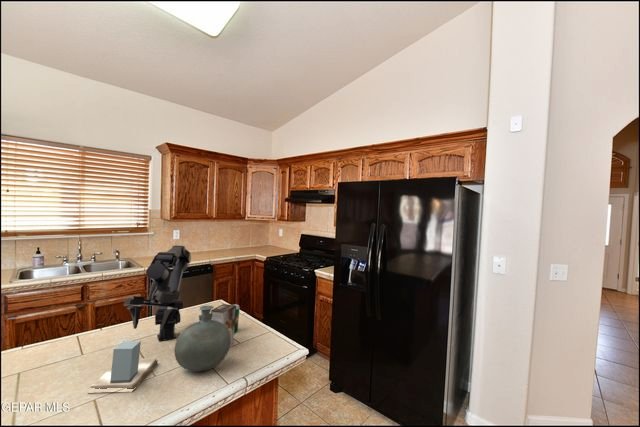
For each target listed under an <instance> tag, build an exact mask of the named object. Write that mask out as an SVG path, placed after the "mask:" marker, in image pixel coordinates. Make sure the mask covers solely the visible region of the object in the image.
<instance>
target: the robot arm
mask: <svg viewBox="0 0 640 427" xmlns="http://www.w3.org/2000/svg"><path fill="white" fill-rule="evenodd" d="M191 261H192V256H191V252H190V251H189V250H188V249H186V246H184V245H173V246H172V247H171V248H170V249H169V250H167V251H159V252H157V254H155V256H154V257H153V259H152V261H151V263H150V264H149V266H148V267H147V268H146V271H145V273H146V276H147V277H148V278H149V279H150V280H152V282H151V286H149V289H148V291H149V293H148V297H147V298H146V299H145V297H143V296H134V295H133V296H128V297H126V298H125V299H124V302H123V304H122V306H124V307H126V309H127V310H129V312H130V316H131V319H132V320H131V321H132V326H133V329H134V330H135V329H137V328H138V325H139V320H140V317H141V312H142V309H143V308H144V306H153V307H158V308H157V310H155V311H156V312H155V315H154V321H155V322H154V325H155V326H157V325H158V326H159V330H158V331H159V332H158V333H159V334H156V337H157V341H159V342H163V341H168V340H173V339H177V335H176V333H175V330H176V325H178V324H179V323H181V317H182V316H181V312H180V310H183V309H184V307H185V306H184V305H185V304H184V301H183V300H179V298H180V294H181V292H180V287H181V282H182V278H183V273H184V272H185V271H186V270H187V269H188V268H189V266H190V264H191ZM171 268H172V271H171Z"/></svg>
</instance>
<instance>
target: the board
mask: <svg viewBox="0 0 640 427" xmlns="http://www.w3.org/2000/svg"><path fill="white" fill-rule="evenodd" d="M158 363H159V362H158V359H157V358H139V364H138V373H137V374H136V375H135V376H134V378H133V379H132V380H131V381H130V382H129V383H110V380H111V370H112V367H111V368H110V369H108V370H107V371H106V372H105V373H104V374H103V375H101V377H99V378H98V379H97V380H96V381H95V382H93V383H92V384H91V385H90V387H89V388H95V389H99V388H100V389H107V388H127V389H134V388H135V387H136V386H137V385H138V386H139V385H140V384H141V383H142V382H143V381H144V380H145V379H146V377H147V376H148V375H149V374H150V373H151V372H152V371H153V369H154V368H156V366H157V365H158ZM143 379H144V380H143ZM142 380H143V381H142ZM141 381H142V382H141ZM140 382H141V383H140ZM139 383H140V384H139ZM138 386H137V387H138Z"/></svg>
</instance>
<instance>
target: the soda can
mask: <svg viewBox="0 0 640 427" xmlns="http://www.w3.org/2000/svg"><path fill="white" fill-rule="evenodd" d="M235 305H236V314H235V328H234V334H235V333H237V332H238V330H239V320H240V319H239V318H240V309H241V308H240V305H239V304H235Z"/></svg>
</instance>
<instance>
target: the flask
mask: <svg viewBox="0 0 640 427" xmlns="http://www.w3.org/2000/svg"><path fill="white" fill-rule="evenodd" d="M212 309H214V306H213V305H209V304H208V305H203V306H200V307H199V310H200V311H201V314H199V315H198V320H199V321H196V322H194V323H192V324H190V325H188V326H187V327H185V328H184V329H183V330H182V331H181V333H180V334H179V335H178V337H177V338H176V341H175V345H174V357H175V360H176V362H177V363H178V365H179V366H180V367H182V368H183V369H184V370H187V371H190V372H204V371H208V370H210V369H213V368H215V367H217V366H218V365H220V364H221V362H222V361H224V359H225V358H226V357H227V355H228V352H229V351H230V348H231V345H232V344H231V337H230V333H229V330H228V328H227V327H226V326H225V325H224V324H223V323H221V322H219V321H214V320H211V319H212V313H211V310H212ZM230 344H231V345H230Z"/></svg>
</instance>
